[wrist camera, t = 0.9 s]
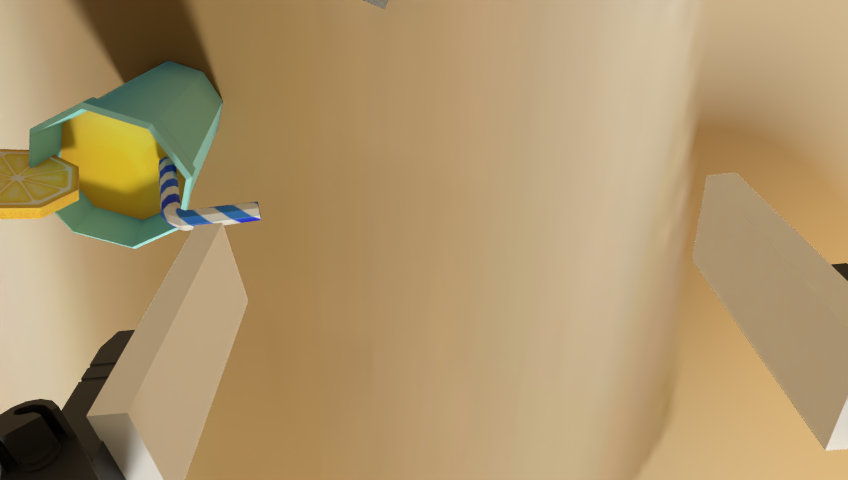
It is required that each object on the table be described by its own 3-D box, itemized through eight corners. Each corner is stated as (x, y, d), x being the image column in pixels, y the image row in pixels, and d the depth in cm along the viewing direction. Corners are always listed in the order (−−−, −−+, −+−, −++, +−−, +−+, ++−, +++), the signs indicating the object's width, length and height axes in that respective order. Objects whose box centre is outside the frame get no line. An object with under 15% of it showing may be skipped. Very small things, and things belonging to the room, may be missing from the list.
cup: (297, 33, 35) (237, 134, 23) (315, 154, 39) (273, 296, 27) (58, 44, 35) (-135, 151, 23) (102, 164, 39) (-40, 311, 27)
